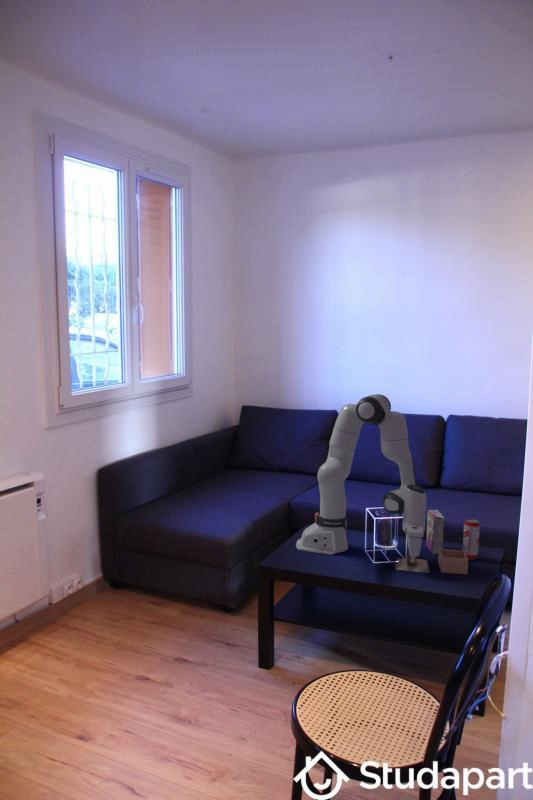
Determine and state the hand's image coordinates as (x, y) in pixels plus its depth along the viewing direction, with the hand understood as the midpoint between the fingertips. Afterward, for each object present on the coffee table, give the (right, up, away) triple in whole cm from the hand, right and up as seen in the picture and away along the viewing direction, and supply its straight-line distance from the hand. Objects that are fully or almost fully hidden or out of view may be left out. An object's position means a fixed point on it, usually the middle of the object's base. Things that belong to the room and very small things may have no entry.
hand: (411, 559), depth 254 cm
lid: (0, -3, 0) cm, 3 cm away
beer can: (+27, -2, +10) cm, 29 cm away
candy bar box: (+14, -1, +18) cm, 23 cm away
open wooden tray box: (+16, -3, -2) cm, 16 cm away
